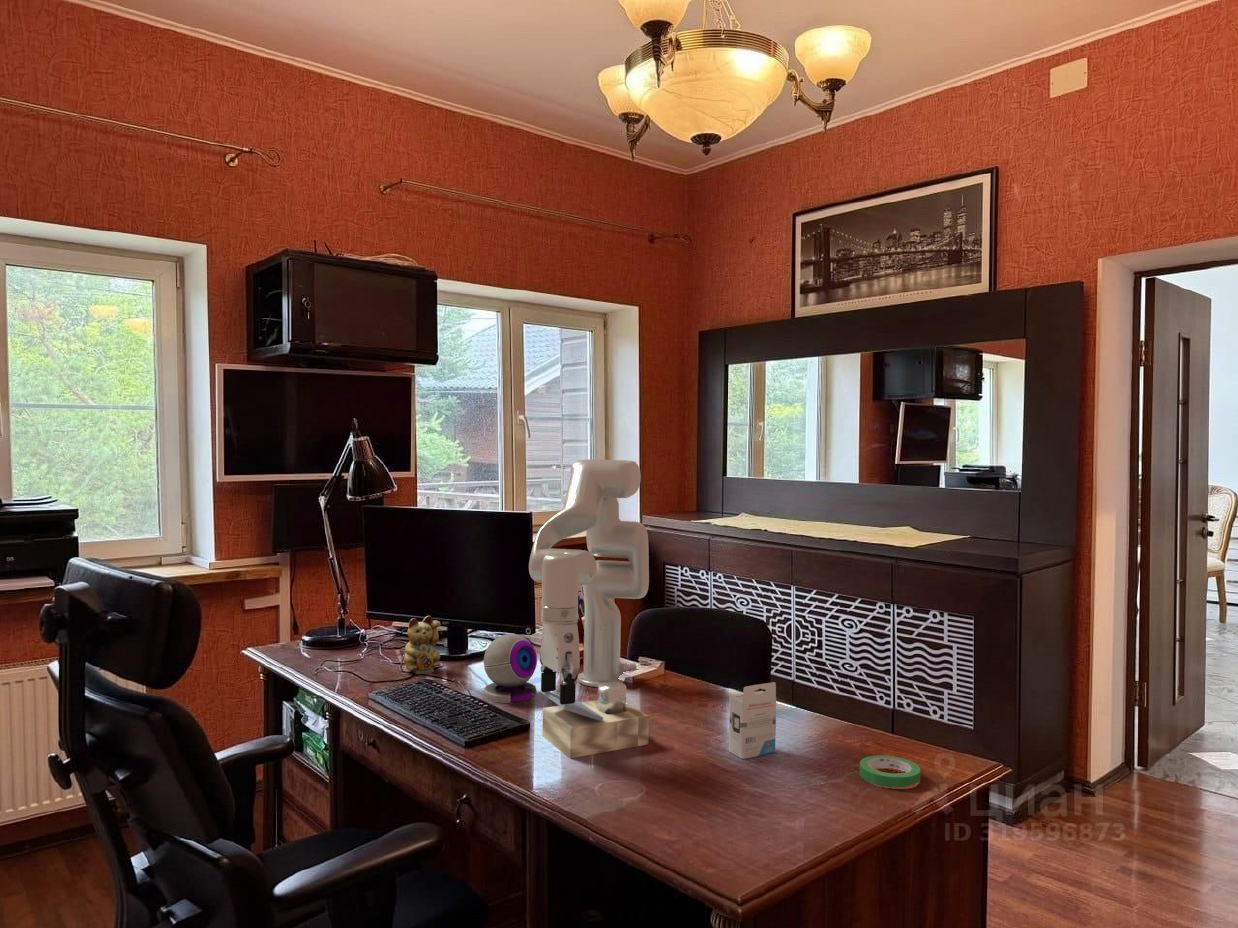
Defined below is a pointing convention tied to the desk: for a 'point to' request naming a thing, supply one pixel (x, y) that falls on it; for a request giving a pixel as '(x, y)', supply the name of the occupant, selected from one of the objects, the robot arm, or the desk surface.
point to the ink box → (753, 721)
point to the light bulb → (611, 697)
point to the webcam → (510, 669)
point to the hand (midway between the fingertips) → (557, 697)
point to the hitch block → (594, 730)
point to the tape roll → (889, 779)
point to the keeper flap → (574, 706)
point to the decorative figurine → (422, 646)
